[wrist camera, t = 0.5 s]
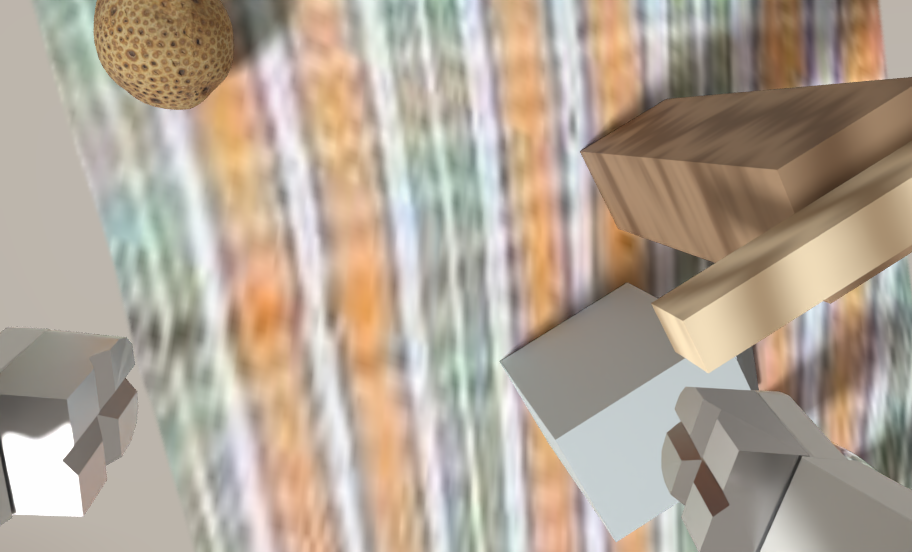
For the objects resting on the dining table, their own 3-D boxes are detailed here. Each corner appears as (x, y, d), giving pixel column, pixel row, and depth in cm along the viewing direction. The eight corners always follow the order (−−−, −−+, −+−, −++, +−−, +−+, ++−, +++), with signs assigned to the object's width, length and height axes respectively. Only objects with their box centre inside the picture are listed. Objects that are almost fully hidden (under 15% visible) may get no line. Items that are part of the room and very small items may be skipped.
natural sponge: (244, 115, 50) (222, 112, 41) (121, 105, 49) (69, 100, 39) (244, -8, 48) (222, -41, 39) (117, -23, 47) (61, -62, 37)
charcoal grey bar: (712, 202, 59) (719, 203, 58) (724, 198, 59) (730, 200, 59) (742, 392, 65) (748, 396, 64) (752, 388, 65) (759, 392, 64)
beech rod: (675, 351, 32) (708, 373, 29) (651, 303, 31) (682, 320, 29) (999, 147, 33) (1062, 149, 30) (983, 95, 32) (1047, 92, 29)
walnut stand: (618, 228, 58) (830, 303, 33) (579, 151, 56) (777, 169, 31) (700, 177, 59) (972, 214, 34) (666, 98, 56) (929, 75, 31)
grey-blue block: (548, 442, 62) (616, 542, 47) (499, 361, 59) (555, 439, 44) (669, 366, 62) (774, 440, 48) (627, 282, 60) (724, 333, 45)
